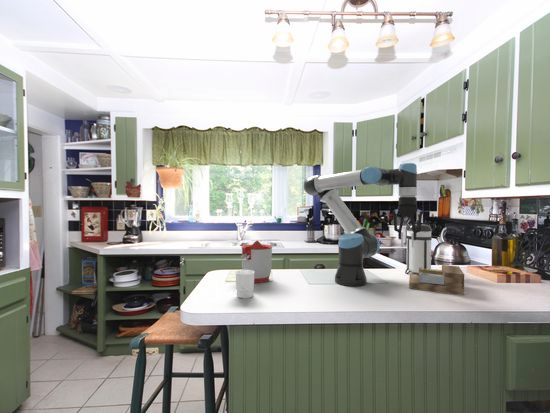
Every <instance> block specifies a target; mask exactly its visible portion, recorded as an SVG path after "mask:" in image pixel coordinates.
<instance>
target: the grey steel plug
mask: <svg viewBox="0 0 550 413" xmlns="http://www.w3.org/2000/svg"><path fill="white" fill-rule="evenodd" d="M418 275H419V282H420V283H422V282H423V283H431V284H440V285H445V276H444V275H436V274H427V273H422V272H419V273H418Z"/></svg>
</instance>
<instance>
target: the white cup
mask: <svg viewBox="0 0 550 413" xmlns="http://www.w3.org/2000/svg"><path fill="white" fill-rule="evenodd" d="M254 274H255V272H254V271H253V270H242V269H239V270H236V271H235V285H236V286H235V287H236V297H238V298H239V299H250V298H252V297H254V288H255V282H254Z"/></svg>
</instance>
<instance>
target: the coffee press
mask: <svg viewBox="0 0 550 413" xmlns="http://www.w3.org/2000/svg"><path fill="white" fill-rule="evenodd" d="M415 228H416V230H418V219H417V220H416V223H415ZM405 231H406V238H405V239H406V269H405V271H404V273H405V274H406V275H410V274H411V273H414V274H416V273H417V274H419V267H421V268H425V269H432V238H433V237H432V232H433V229H432V227H431V226H430V225H428V224H422V223H421V232H418V233H416V240H413V248H412V233H413V228H412V223H411V224H408V225H407V227H406V230H405Z"/></svg>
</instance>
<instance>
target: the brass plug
mask: <svg viewBox="0 0 550 413" xmlns="http://www.w3.org/2000/svg"><path fill="white" fill-rule="evenodd" d="M419 272H422V273H427V274H436V275H443V271H442V269H433V268H431V269H425V268H421V267H419Z"/></svg>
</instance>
